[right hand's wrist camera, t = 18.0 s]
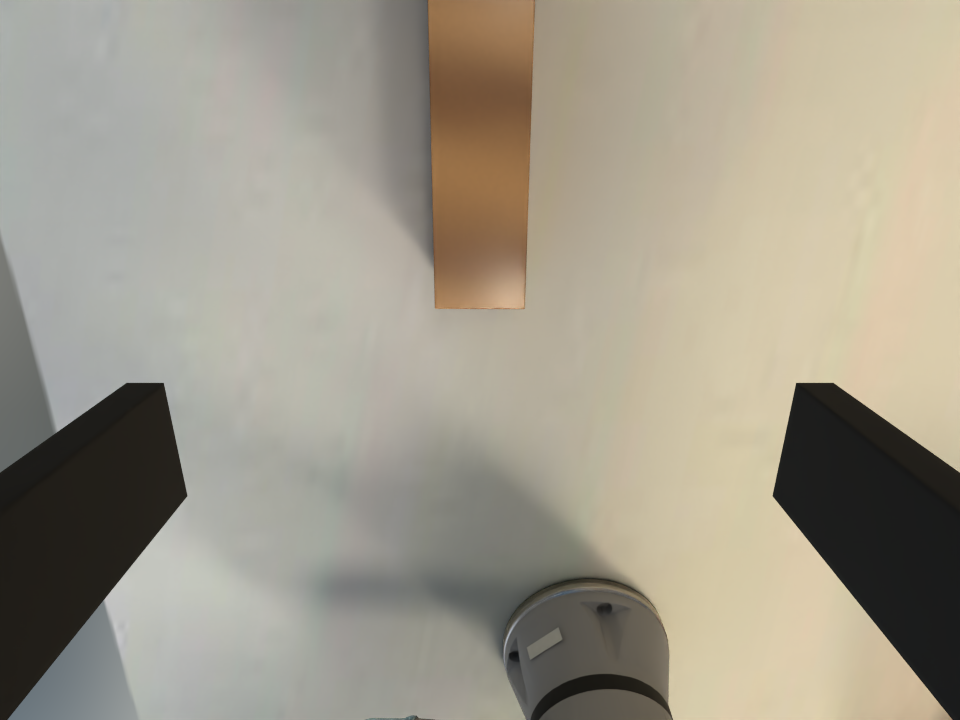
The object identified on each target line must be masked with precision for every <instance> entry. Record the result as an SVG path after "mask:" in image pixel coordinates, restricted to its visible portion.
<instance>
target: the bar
mask: <svg viewBox="0 0 960 720" xmlns="http://www.w3.org/2000/svg"><path fill="white" fill-rule="evenodd" d="M534 12H535V0H428V34H429V77H430V119H431V161H432V203H433V245H434V288H435V308H436V309H525V286H526V255H527V225H528V195H529V164H530V134H531V103H532V73H533V42H534Z"/></svg>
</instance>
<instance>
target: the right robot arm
mask: <svg viewBox="0 0 960 720" xmlns="http://www.w3.org/2000/svg"><path fill="white" fill-rule="evenodd" d="M186 497H187V492H186V487H185V483H184V478H183V473H182V468H181V463H180V459H179V454H178V449H177V444H176V440H175V435H174V430H173V425H172V420H171V416H170V411H169V406H168V401H167V397H166V392H165V387H164V383H126V384H125V385H123V386H122V387H120V388H119V389H118V390H116V391H115V392H113V393H112V394H111V395H109V396H108V397H106V398H105V399H103V400H102V401H101V402H99V403H98V404H96V405H95V406H94V407H92V408H91V409H89V410H88V411H87V412H85V413H84V414H82V415H81V416H80V417H78V418H77V419H75V420H74V421H72V422H71V423H70V424H68V425H67V426H65V427H64V428H63V429H61V430H60V431H58V432H57V433H56V434H54V435H53V436H51V437H50V438H49V439H47V440H46V441H44V442H43V443H41V444H40V445H39V446H37V447H36V448H34V449H33V450H32V451H30V452H29V453H27V454H26V455H25V456H23V457H22V458H20V459H19V460H18V461H16V462H15V463H13V464H12V465H10V466H9V467H8V468H6V469H5V470H3V471H2V472H1V473H0V720H7V719H8V718H9V717H10V716H11V714H12V713H13V712H14V711H15V709H16V708H17V707H18V706H19V704H20V703H21V702H22V701H23V700H24V698H25V697H26V696H27V695H28V693H29V692H30V691H31V690H32V688H33V687H34V686H35V685H36V683H37V682H38V681H39V680H40V678H41V677H42V676H43V675H44V673H45V672H46V671H47V670H48V668H49V667H50V666H51V665H52V663H53V662H54V661H55V660H56V659H57V657H58V656H59V655H60V653H61V652H62V651H63V650H64V649H65V647H66V646H67V645H68V644H69V642H70V641H71V640H72V639H73V637H74V636H75V635H76V634H77V632H78V631H79V630H80V629H81V627H82V626H83V625H84V624H85V623H86V621H87V620H88V619H89V618H90V616H91V615H92V614H93V613H94V611H95V610H96V609H97V608H98V606H99V605H100V604H101V603H102V601H103V600H104V599H105V598H106V596H107V595H108V594H109V593H110V591H111V590H112V589H113V588H114V587H115V585H116V584H117V583H118V582H119V580H120V579H121V578H122V577H123V575H124V574H125V573H126V572H127V570H128V569H129V568H130V567H131V565H132V564H133V563H134V562H135V560H136V559H137V558H138V557H139V555H140V554H141V553H142V552H143V550H144V549H145V548H146V547H147V546H148V544H149V543H150V542H151V541H152V539H153V538H154V537H155V536H156V534H157V533H158V532H159V531H160V529H161V528H162V527H163V526H164V524H165V523H166V522H167V521H168V519H169V518H170V517H171V516H172V514H173V513H174V512H175V511H176V509H177V508H178V507H179V506H180V505H181V503H182V502H183V501H184V500H185V498H186ZM773 497H774V498H775V500H776V501H777V502H778V503H779V505H780V506H781V507H782V508H783V509H784V511H785V512H786V513H787V514H788V516H789V517H790V518H791V519H792V521H793V522H794V523H795V524H796V526H797V527H798V528H799V529H800V531H801V532H802V533H803V534H804V536H805V537H806V538H807V539H808V541H809V542H810V543H811V544H812V546H813V547H814V548H815V549H816V550H817V552H818V553H819V554H820V555H821V557H822V558H823V559H824V560H825V562H826V563H827V564H828V565H829V567H830V568H831V569H832V570H833V572H834V573H835V574H836V575H837V577H838V578H839V579H840V580H841V582H842V583H843V584H844V585H845V587H846V588H847V589H848V590H849V591H850V593H851V594H852V595H853V596H854V598H855V599H856V600H857V601H858V603H859V604H860V605H861V606H862V608H863V609H864V610H865V611H866V613H867V614H868V615H869V616H870V618H871V619H872V620H873V621H874V623H875V624H876V625H877V626H878V628H879V629H880V630H881V631H882V632H883V634H884V635H885V636H886V637H887V639H888V640H889V641H890V642H891V644H892V645H893V646H894V647H895V649H896V650H897V651H898V652H899V654H900V655H901V656H902V657H903V659H904V660H905V661H906V662H907V664H908V665H909V666H910V667H911V668H912V670H913V671H914V672H915V673H916V675H917V676H918V677H919V678H920V680H921V681H922V682H923V683H924V685H925V686H926V687H927V688H928V690H929V691H930V692H931V693H932V695H933V696H934V697H935V698H936V700H937V701H938V702H939V703H940V705H941V706H942V707H943V708H944V709H945V711H946V712H947V713H948V714H949V716H950V717H951V718H952V719H953V720H960V473H959V472H958V471H957V470H955V469H954V468H952V467H951V466H950V465H948V464H947V463H945V462H944V461H943V460H941V459H940V458H938V457H937V456H935V455H934V454H933V453H931V452H930V451H928V450H927V449H926V448H924V447H923V446H921V445H920V444H919V443H917V442H916V441H914V440H913V439H911V438H910V437H909V436H907V435H906V434H904V433H903V432H902V431H900V430H899V429H897V428H896V427H895V426H893V425H892V424H890V423H889V422H888V421H886V420H885V419H883V418H882V417H880V416H879V415H878V414H876V413H875V412H873V411H872V410H871V409H869V408H868V407H866V406H865V405H864V404H862V403H861V402H859V401H858V400H857V399H855V398H854V397H852V396H851V395H849V394H848V393H847V392H845V391H844V390H842V389H841V388H840V387H838V386H837V385H835V384H834V383H796V387H795V392H794V397H793V401H792V406H791V411H790V416H789V420H788V425H787V430H786V435H785V440H784V444H783V449H782V454H781V459H780V463H779V468H778V473H777V478H776V483H775V487H774V492H773ZM503 652H504V665H505V669H506V672H507V676H508V679H509V681H510V684H511V686H512V688H513V691H514V693H515V695H516V697H517V700H518V702H519V704H520V706H521V709H522V711H523V713H524V716H525V718H526V720H673V718H672V715H671V712H670V709H669V706H668V687H669V647H668V639H667V635H666V632H665V630H664V627H663V624H662V622H661V619H660V617H659V615H658V613H657V611H656V610H655V608H654V607H653V605H652V604H651V603H650V602H649V601H648V600H647V599H646V598H645V597H643V596H642V595H641V594H639V593H638V592H636V591H634V590H633V589H631V588H629V587H626V586H624V585H621V584H618V583H615V582H611V581H606V580H599V579H578V580H571V581H566V582H561V583H558V584H555V585H552V586H550V587H547V588H545V589H543V590H541V591H539V592H537V593H536V594H534V595H532V596H531V597H530V598H528V599H527V600H526V601H525V602H524V603H522V604H521V605H520V606H519V607H518V609H517V610H516V611H515V612H514V614H513V615H512V617H511V618H510V620H509V622H508V624H507V627H506V630H505V633H504V639H503ZM366 720H433V719H421V718H418V717H417V716H414V715H413V716H409V717H406V718H400V719H399V718H370V719H366Z"/></svg>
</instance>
